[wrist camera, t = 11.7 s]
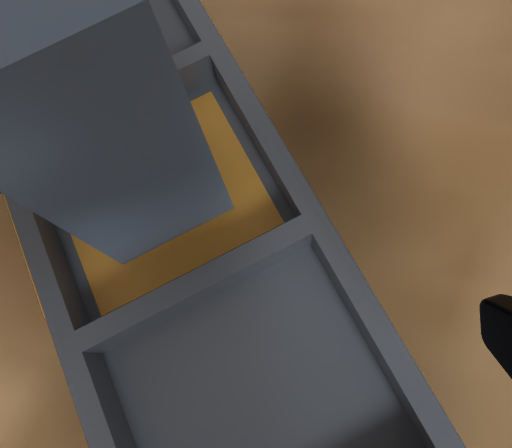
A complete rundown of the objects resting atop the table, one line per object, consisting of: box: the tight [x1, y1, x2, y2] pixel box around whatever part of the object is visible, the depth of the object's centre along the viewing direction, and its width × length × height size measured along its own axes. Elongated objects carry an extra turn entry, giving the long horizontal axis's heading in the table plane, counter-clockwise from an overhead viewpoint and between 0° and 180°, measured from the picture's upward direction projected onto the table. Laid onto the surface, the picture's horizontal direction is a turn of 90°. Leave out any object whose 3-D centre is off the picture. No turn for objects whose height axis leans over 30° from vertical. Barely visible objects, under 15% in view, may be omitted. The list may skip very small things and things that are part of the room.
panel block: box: [0, 0, 234, 265], centre depth 14 cm, size 4×5×11 cm
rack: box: [3, 0, 466, 448], centre depth 19 cm, size 27×11×2 cm, turn 27°
